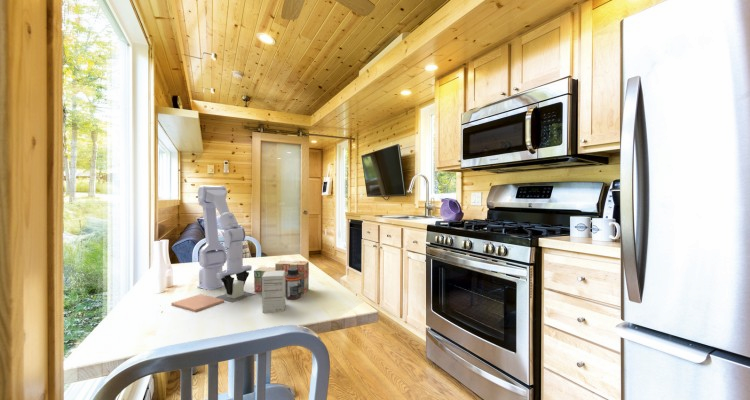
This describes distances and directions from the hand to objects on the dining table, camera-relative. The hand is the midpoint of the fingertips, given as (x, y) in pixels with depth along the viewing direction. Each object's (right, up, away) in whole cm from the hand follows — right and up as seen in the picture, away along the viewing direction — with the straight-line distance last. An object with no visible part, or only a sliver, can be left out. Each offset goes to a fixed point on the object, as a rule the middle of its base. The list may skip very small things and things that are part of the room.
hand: (235, 292), depth 123 cm
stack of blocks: (+16, -2, +7) cm, 18 cm away
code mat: (0, -2, 0) cm, 2 cm away
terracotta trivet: (-10, -2, -8) cm, 13 cm away
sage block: (0, -1, 0) cm, 1 cm away
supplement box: (+20, -2, -12) cm, 23 cm away
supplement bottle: (+23, -2, -1) cm, 23 cm away
